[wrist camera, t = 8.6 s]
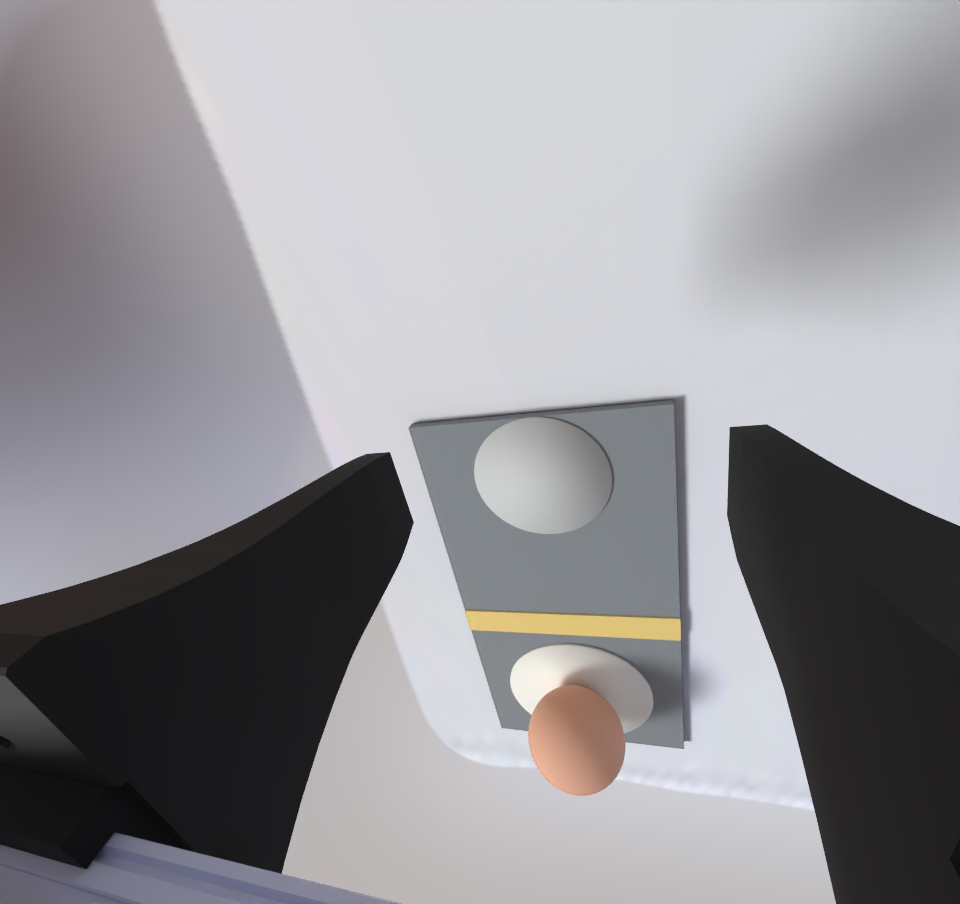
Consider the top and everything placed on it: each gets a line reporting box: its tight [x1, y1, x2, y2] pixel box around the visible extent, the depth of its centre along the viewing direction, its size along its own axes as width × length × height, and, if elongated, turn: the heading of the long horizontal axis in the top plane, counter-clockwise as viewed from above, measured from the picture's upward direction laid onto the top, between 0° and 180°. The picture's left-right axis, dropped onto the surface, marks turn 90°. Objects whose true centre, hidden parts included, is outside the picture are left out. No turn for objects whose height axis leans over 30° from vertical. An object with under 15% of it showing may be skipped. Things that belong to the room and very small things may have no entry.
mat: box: [409, 400, 684, 749], centre depth 25 cm, size 22×11×1 cm, turn 12°
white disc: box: [510, 643, 653, 733], centre depth 28 cm, size 8×8×1 cm
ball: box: [528, 685, 625, 796], centre depth 26 cm, size 5×5×5 cm
